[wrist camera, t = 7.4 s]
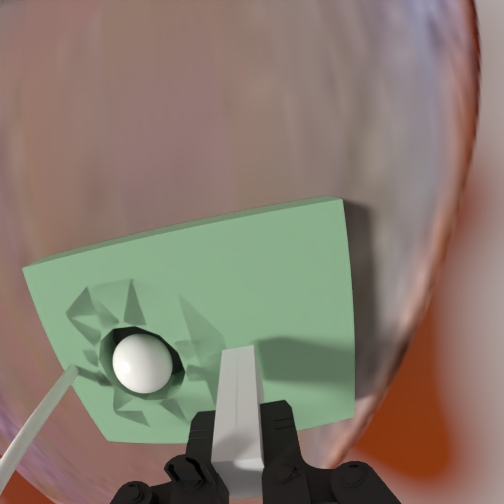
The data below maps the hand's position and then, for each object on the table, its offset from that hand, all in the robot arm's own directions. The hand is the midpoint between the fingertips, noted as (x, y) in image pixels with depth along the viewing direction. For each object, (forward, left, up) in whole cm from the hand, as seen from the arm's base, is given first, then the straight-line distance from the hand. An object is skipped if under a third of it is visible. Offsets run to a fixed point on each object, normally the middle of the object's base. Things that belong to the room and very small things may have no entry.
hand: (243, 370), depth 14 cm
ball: (-6, 0, -2) cm, 6 cm away
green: (-4, 0, -4) cm, 6 cm away
